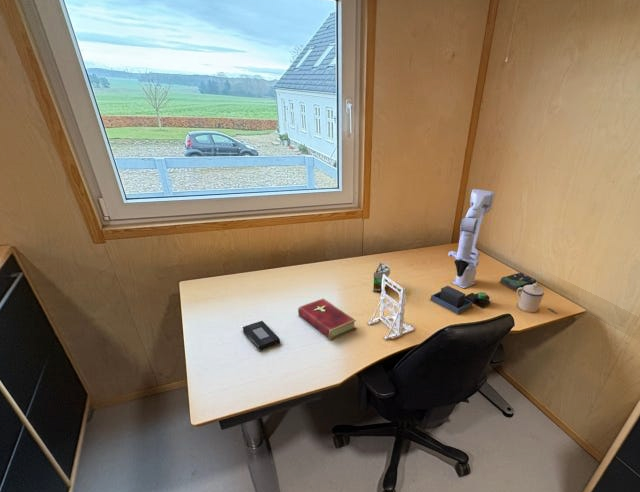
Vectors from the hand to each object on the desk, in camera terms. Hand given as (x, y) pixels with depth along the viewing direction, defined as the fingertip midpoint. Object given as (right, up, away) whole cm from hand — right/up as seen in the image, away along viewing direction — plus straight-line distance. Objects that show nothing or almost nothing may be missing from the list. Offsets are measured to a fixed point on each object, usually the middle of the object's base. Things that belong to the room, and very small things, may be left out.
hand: (459, 275), depth 159 cm
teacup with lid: (+30, -13, +2) cm, 33 cm away
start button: (+10, -9, 0) cm, 14 cm away
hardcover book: (-56, -21, -19) cm, 62 cm away
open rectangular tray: (-4, -12, 0) cm, 13 cm away
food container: (-34, -5, +8) cm, 36 cm away
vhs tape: (-77, -26, -29) cm, 87 cm away
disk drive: (+33, -1, +21) cm, 39 cm away
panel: (+8, -11, +3) cm, 14 cm away
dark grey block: (-4, -12, 0) cm, 13 cm away
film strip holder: (-30, -22, -18) cm, 42 cm away
